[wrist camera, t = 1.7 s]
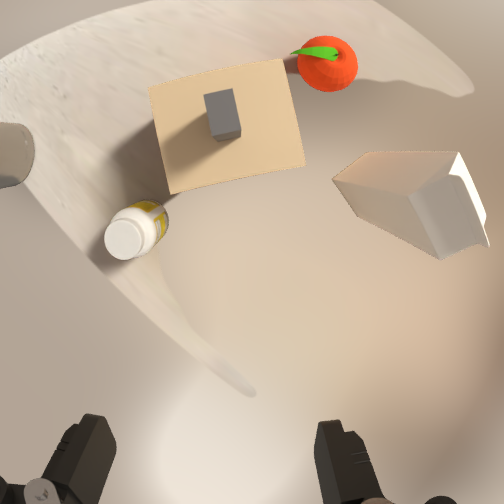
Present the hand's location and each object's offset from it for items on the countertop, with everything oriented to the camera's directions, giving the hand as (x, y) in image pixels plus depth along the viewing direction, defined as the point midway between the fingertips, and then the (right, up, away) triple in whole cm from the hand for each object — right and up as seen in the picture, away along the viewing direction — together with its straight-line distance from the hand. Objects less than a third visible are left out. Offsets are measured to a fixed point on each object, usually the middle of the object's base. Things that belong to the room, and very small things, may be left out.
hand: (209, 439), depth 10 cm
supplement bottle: (-11, +11, +28) cm, 32 cm away
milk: (+15, +15, +28) cm, 35 cm away
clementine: (+9, +29, +24) cm, 39 cm away
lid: (-1, +18, +16) cm, 24 cm away
